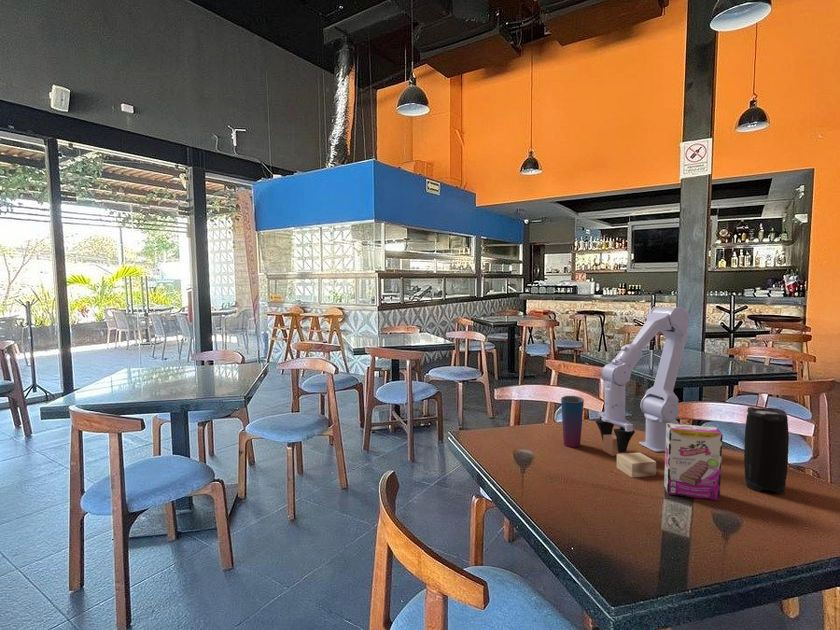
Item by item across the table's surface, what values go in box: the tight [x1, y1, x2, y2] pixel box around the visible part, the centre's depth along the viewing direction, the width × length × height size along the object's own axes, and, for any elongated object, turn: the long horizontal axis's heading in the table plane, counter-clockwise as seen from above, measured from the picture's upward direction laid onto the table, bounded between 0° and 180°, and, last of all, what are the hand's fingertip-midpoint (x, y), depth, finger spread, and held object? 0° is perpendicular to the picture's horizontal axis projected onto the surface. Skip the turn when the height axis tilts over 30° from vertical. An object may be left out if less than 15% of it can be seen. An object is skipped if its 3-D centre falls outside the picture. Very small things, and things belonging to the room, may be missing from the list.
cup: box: [560, 395, 585, 449], centre depth 143 cm, size 7×7×15 cm
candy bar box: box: [663, 423, 724, 501], centre depth 108 cm, size 11×5×16 cm, turn 71°
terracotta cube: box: [602, 433, 627, 456], centre depth 137 cm, size 4×4×5 cm
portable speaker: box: [743, 406, 790, 495], centre depth 111 cm, size 9×9×20 cm
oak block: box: [616, 452, 657, 478], centre depth 123 cm, size 7×7×4 cm
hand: (614, 447), depth 137 cm, fingers open, 7 cm apart
